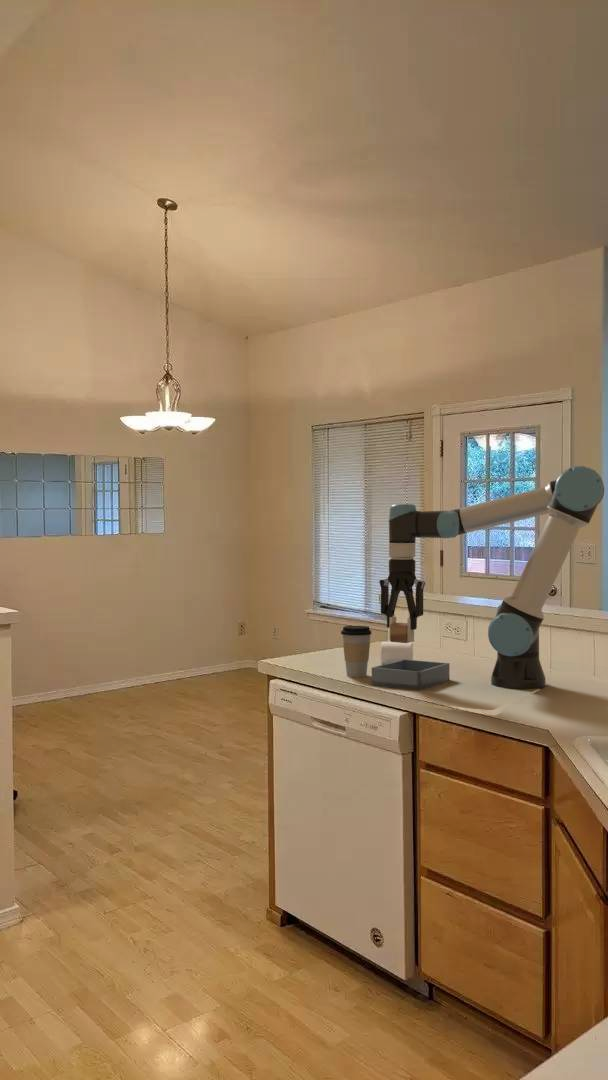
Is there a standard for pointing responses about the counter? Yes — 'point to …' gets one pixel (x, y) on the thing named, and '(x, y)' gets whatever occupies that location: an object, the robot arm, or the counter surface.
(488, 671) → the counter surface
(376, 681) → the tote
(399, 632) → the walnut block
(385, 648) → the mug
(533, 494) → the robot arm
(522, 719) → the counter surface
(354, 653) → the coffee cup
